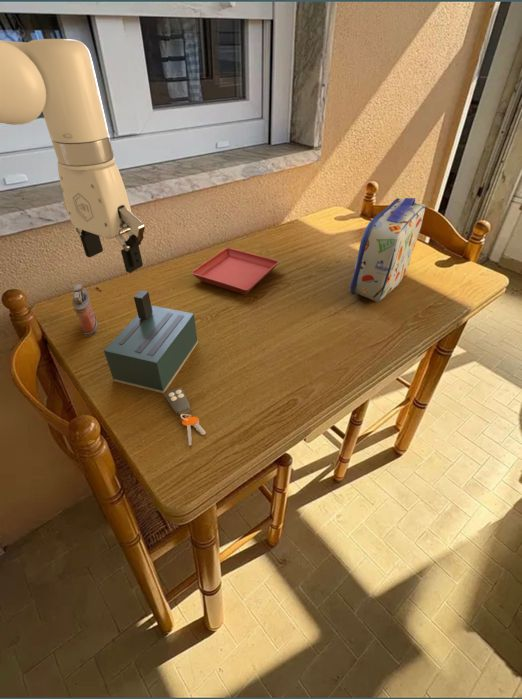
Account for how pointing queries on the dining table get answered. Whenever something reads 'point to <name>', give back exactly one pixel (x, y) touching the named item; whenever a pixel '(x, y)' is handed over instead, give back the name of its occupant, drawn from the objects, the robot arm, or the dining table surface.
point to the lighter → (84, 311)
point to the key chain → (183, 410)
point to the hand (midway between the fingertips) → (114, 261)
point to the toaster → (152, 349)
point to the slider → (143, 304)
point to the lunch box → (387, 249)
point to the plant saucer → (235, 270)
